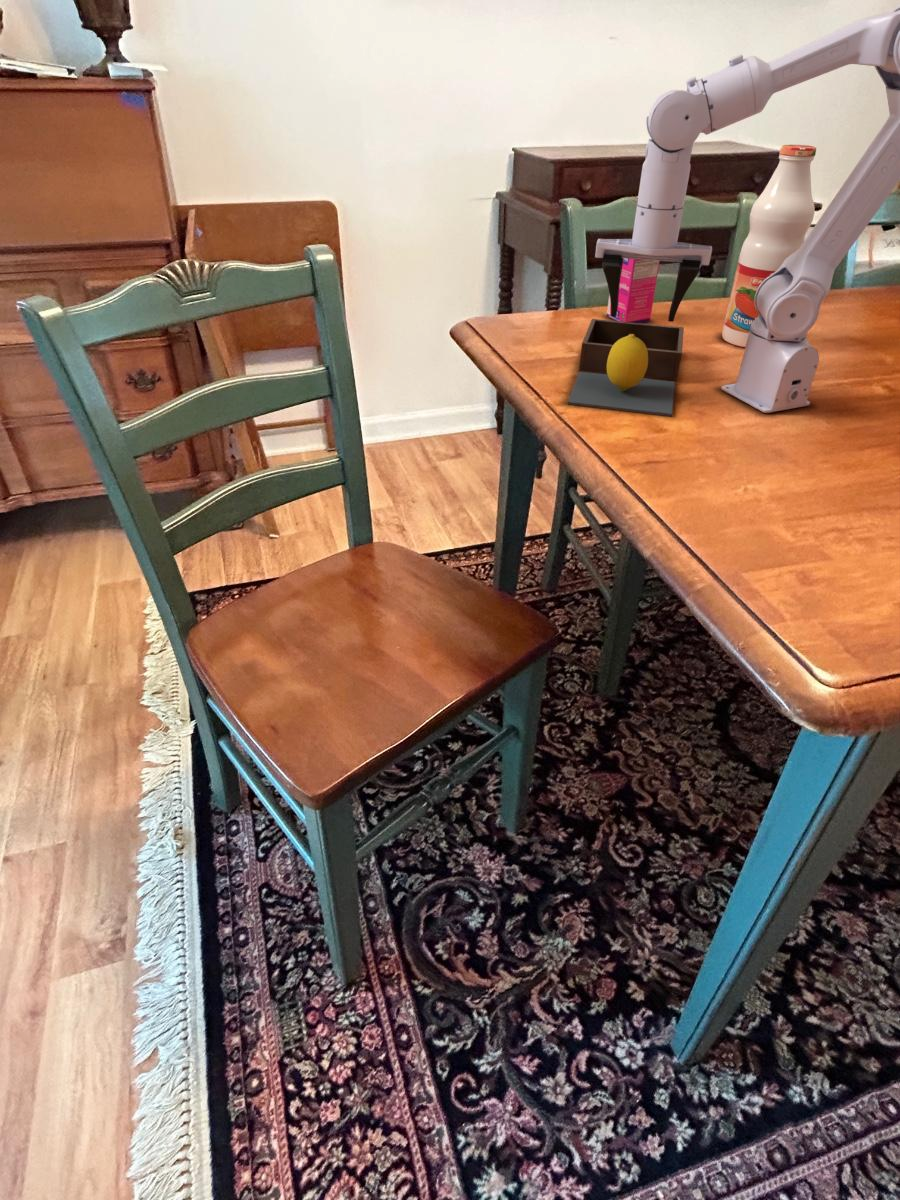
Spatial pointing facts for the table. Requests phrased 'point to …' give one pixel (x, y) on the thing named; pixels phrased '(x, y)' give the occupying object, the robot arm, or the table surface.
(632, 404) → the placemat
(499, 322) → the table surface
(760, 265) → the fruit juice
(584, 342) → the dark brown shallow box
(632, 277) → the supplement box
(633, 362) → the lemon
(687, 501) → the table surface
